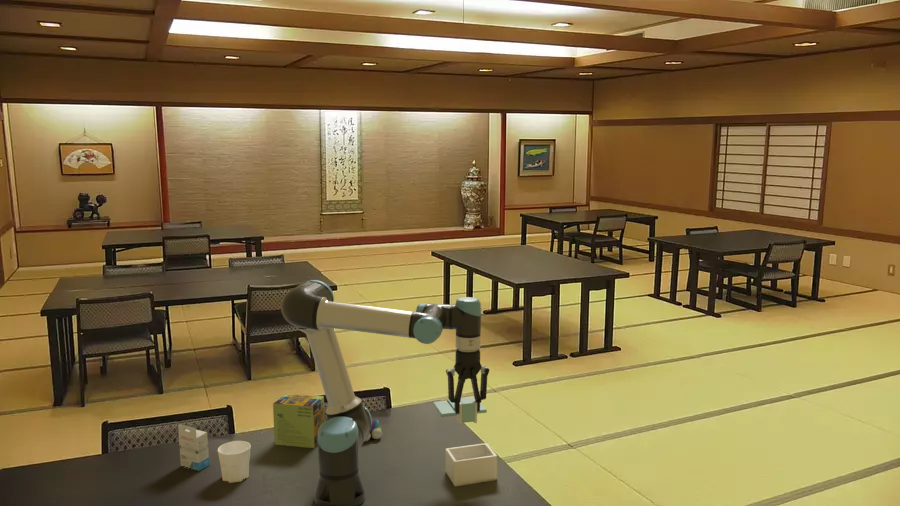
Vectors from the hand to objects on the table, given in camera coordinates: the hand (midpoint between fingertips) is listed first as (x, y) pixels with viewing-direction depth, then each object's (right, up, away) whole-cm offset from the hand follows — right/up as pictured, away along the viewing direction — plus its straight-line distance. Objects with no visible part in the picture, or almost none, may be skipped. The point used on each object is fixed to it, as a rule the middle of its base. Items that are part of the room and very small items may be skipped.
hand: (467, 422), depth 211 cm
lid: (-2, +1, +6) cm, 6 cm away
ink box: (-90, -19, +16) cm, 93 cm away
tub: (+1, -19, +8) cm, 21 cm away
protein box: (-59, -16, +36) cm, 71 cm away
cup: (-74, -20, +8) cm, 77 cm away
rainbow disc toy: (-35, -15, +38) cm, 54 cm away
